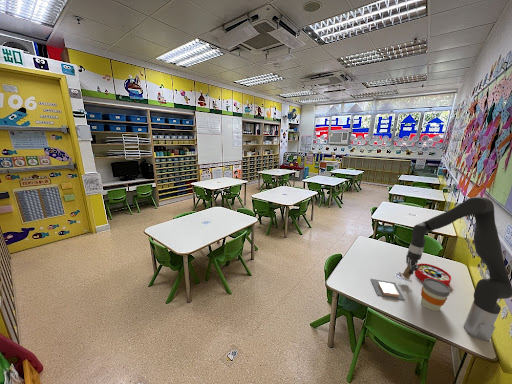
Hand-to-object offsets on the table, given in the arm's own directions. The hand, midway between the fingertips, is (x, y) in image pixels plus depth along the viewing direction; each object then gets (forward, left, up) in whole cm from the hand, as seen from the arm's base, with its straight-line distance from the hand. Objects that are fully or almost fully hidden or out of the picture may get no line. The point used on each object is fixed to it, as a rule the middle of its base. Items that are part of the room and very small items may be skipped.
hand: (409, 272), depth 144 cm
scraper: (0, +2, -5) cm, 5 cm away
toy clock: (+12, -21, -10) cm, 26 cm away
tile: (-12, +16, -8) cm, 22 cm away
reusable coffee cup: (-18, -6, -10) cm, 21 cm away
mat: (-10, +16, -10) cm, 21 cm away
